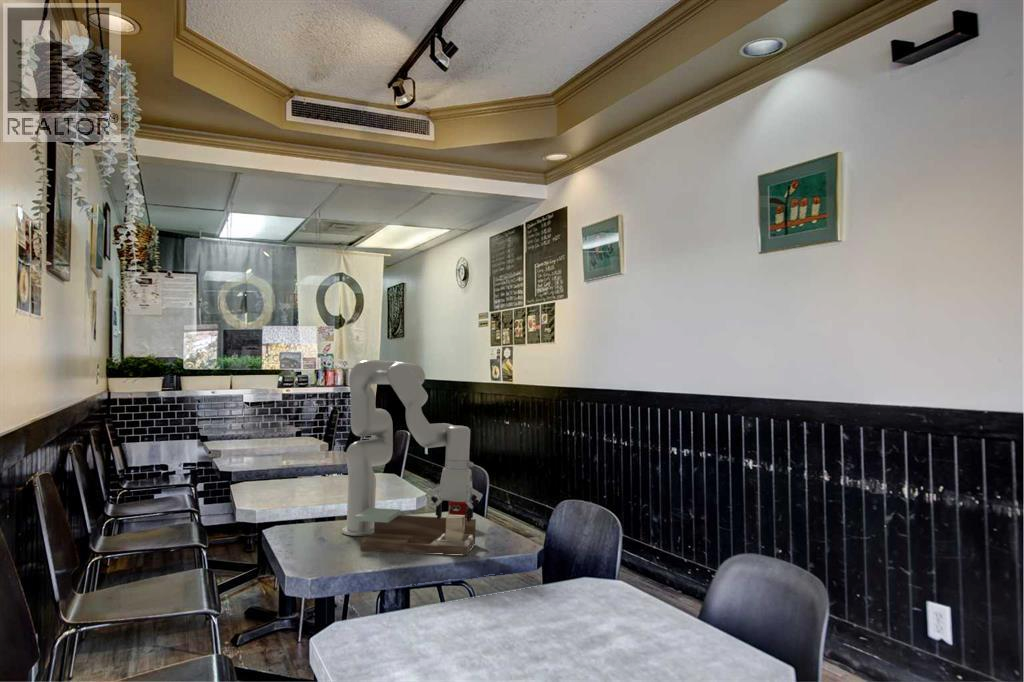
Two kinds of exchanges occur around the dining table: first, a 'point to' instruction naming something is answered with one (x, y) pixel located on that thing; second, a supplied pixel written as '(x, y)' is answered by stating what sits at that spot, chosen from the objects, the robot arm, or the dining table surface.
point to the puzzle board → (418, 536)
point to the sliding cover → (377, 515)
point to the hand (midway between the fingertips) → (454, 519)
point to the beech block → (455, 527)
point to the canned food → (458, 508)
